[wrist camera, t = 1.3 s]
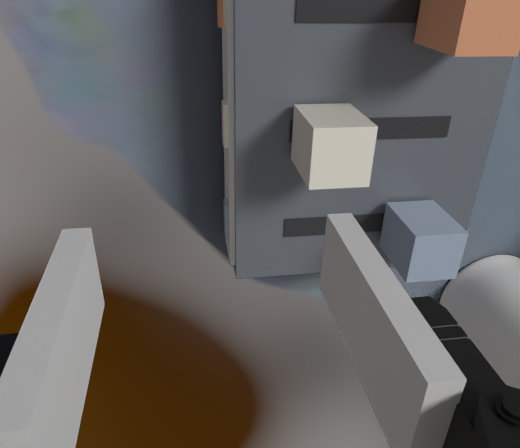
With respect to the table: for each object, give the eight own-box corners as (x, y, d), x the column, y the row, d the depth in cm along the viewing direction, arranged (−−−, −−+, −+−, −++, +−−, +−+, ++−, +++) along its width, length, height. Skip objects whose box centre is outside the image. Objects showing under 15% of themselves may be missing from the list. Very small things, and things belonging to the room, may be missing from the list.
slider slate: (386, 202, 28) (415, 236, 25) (433, 199, 28) (468, 232, 25) (379, 245, 29) (406, 282, 26) (423, 242, 30) (456, 278, 26)
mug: (437, 367, 44) (517, 491, 34) (389, 321, 40) (462, 446, 30) (546, 291, 42) (669, 401, 31) (506, 235, 38) (631, 339, 27)
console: (213, -75, 24) (222, -83, 20) (487, -66, 27) (549, -71, 22) (220, 238, 34) (227, 280, 29) (423, 226, 36) (458, 263, 31)
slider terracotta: (425, -25, 22) (471, -22, 19) (483, -24, 23) (538, -21, 19) (413, 42, 24) (454, 56, 20) (468, 42, 24) (517, 56, 21)
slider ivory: (293, 104, 24) (313, 128, 21) (349, 103, 25) (378, 126, 21) (290, 159, 26) (308, 189, 22) (343, 157, 26) (369, 186, 23)
